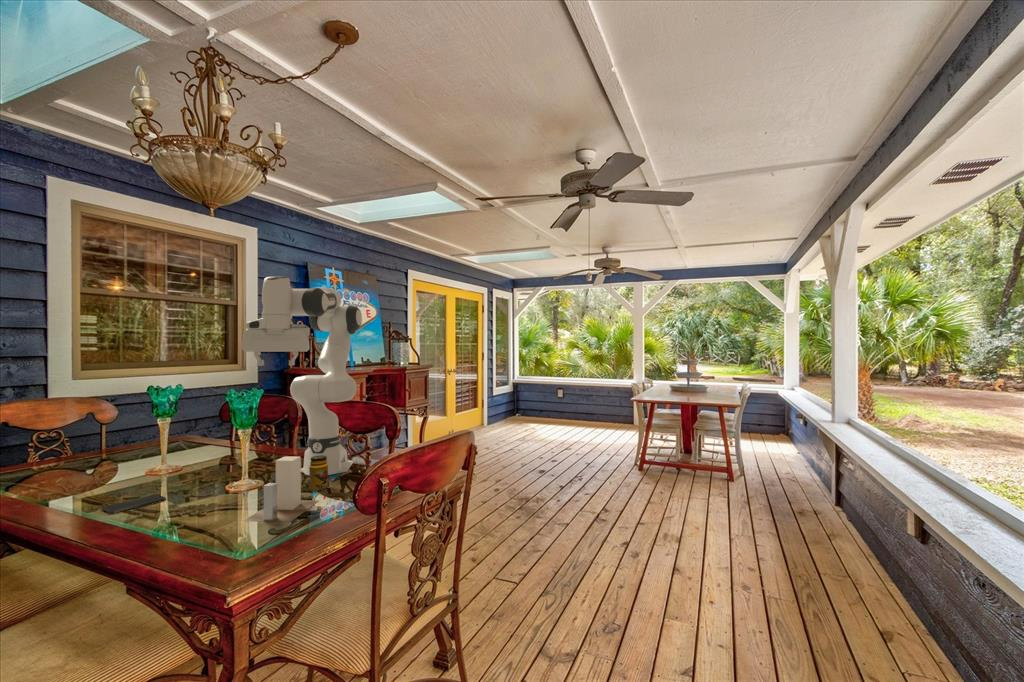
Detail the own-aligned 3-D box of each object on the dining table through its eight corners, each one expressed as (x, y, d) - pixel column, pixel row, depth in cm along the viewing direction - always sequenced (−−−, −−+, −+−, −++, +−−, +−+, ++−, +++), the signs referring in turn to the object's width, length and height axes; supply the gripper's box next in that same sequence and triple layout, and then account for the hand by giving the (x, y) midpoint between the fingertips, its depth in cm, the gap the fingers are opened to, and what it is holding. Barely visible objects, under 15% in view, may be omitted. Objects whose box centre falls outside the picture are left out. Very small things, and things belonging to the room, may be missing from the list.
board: (276, 503, 152) (276, 500, 152) (319, 503, 152) (319, 500, 152) (242, 524, 134) (242, 521, 134) (290, 525, 134) (290, 521, 134)
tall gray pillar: (284, 503, 148) (284, 456, 149) (300, 503, 148) (300, 456, 148) (275, 509, 143) (275, 460, 143) (292, 509, 143) (292, 460, 143)
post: (268, 517, 137) (268, 482, 137) (277, 517, 137) (277, 483, 137) (263, 520, 135) (263, 485, 135) (272, 520, 134) (272, 485, 134)
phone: (167, 498, 155) (110, 511, 142) (167, 501, 155) (110, 515, 142) (156, 494, 159) (100, 507, 147) (156, 497, 159) (100, 510, 147)
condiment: (326, 493, 162) (326, 458, 162) (300, 494, 161) (300, 459, 161) (331, 487, 169) (331, 453, 169) (306, 488, 168) (306, 454, 168)
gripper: (311, 324, 162) (311, 364, 162) (246, 324, 157) (246, 365, 157) (308, 323, 156) (307, 365, 155) (240, 323, 151) (239, 366, 151)
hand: (276, 365), depth 156 cm, fingers open, 8 cm apart
